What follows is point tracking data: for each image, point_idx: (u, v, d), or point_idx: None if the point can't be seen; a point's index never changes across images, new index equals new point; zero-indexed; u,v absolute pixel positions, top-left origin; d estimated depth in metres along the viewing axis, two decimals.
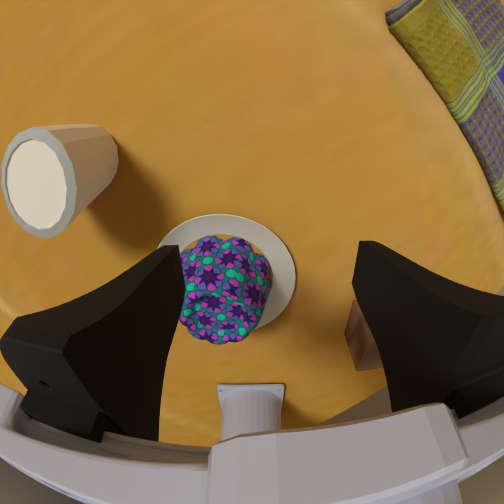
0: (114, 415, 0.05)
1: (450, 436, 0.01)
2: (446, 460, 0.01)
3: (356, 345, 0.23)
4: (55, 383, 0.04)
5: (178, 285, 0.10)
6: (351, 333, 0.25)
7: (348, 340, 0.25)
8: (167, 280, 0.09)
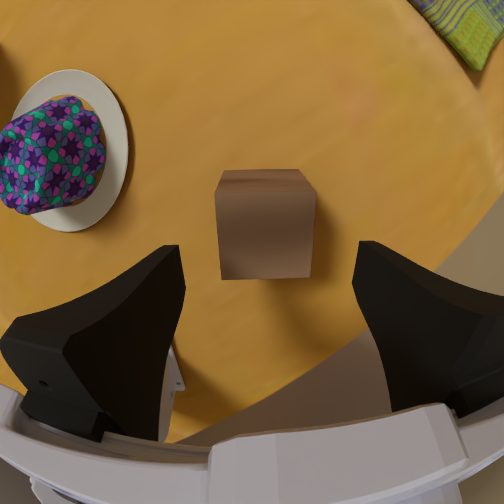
0: (114, 415, 0.05)
1: (450, 436, 0.01)
2: (446, 460, 0.01)
3: None
4: (55, 383, 0.04)
5: (178, 285, 0.10)
6: None
7: None
8: (167, 280, 0.09)
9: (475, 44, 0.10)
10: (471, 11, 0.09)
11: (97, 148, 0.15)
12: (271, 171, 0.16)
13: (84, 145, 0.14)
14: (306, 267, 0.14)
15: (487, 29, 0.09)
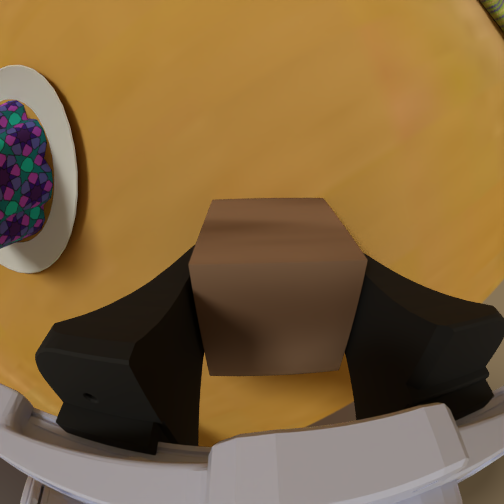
0: (168, 424, 0.05)
1: (450, 436, 0.01)
2: (446, 460, 0.01)
3: None
4: (106, 396, 0.04)
5: None
6: None
7: None
8: None
9: None
10: None
11: (40, 172, 0.10)
12: (284, 203, 0.11)
13: (22, 170, 0.09)
14: (336, 360, 0.09)
15: None
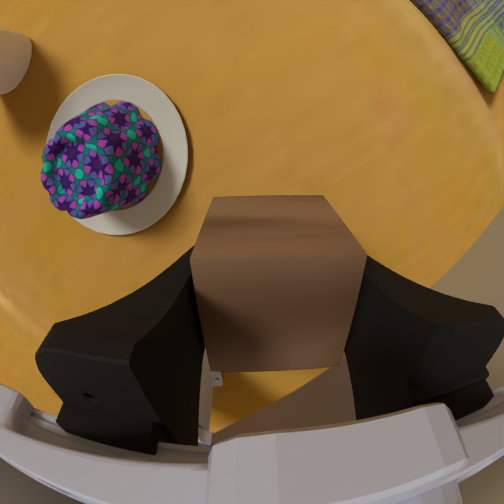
0: (168, 424, 0.05)
1: (450, 436, 0.01)
2: (446, 460, 0.01)
3: None
4: (106, 396, 0.04)
5: None
6: None
7: None
8: None
9: (491, 68, 0.11)
10: (487, 36, 0.10)
11: (155, 159, 0.17)
12: (284, 200, 0.11)
13: (144, 155, 0.16)
14: (336, 355, 0.09)
15: (500, 52, 0.11)
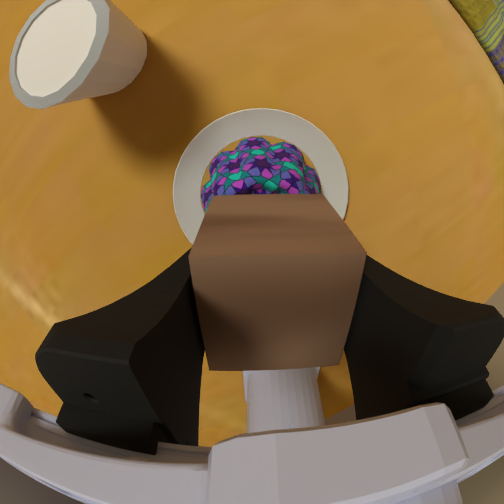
0: (168, 424, 0.05)
1: (450, 436, 0.01)
2: (446, 460, 0.01)
3: None
4: (107, 396, 0.04)
5: None
6: None
7: None
8: None
9: None
10: None
11: None
12: (283, 198, 0.11)
13: None
14: (335, 354, 0.09)
15: None
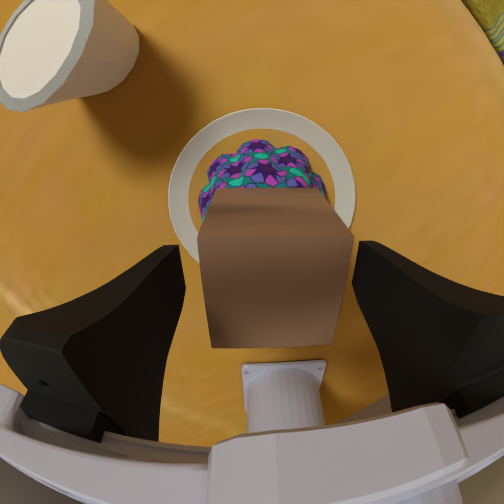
0: (114, 415, 0.05)
1: (450, 436, 0.01)
2: (446, 460, 0.01)
3: None
4: (55, 383, 0.04)
5: (178, 285, 0.10)
6: None
7: None
8: (167, 280, 0.09)
9: None
10: None
11: None
12: (281, 191, 0.12)
13: None
14: (328, 333, 0.10)
15: None
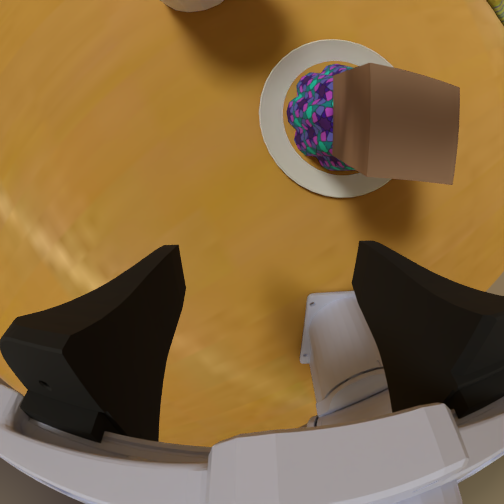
0: (114, 415, 0.05)
1: (450, 436, 0.01)
2: (446, 460, 0.01)
3: (354, 129, 0.10)
4: (55, 383, 0.04)
5: (178, 285, 0.10)
6: (342, 128, 0.12)
7: (340, 151, 0.13)
8: (167, 280, 0.09)
9: None
10: None
11: None
12: None
13: None
14: (451, 171, 0.09)
15: None
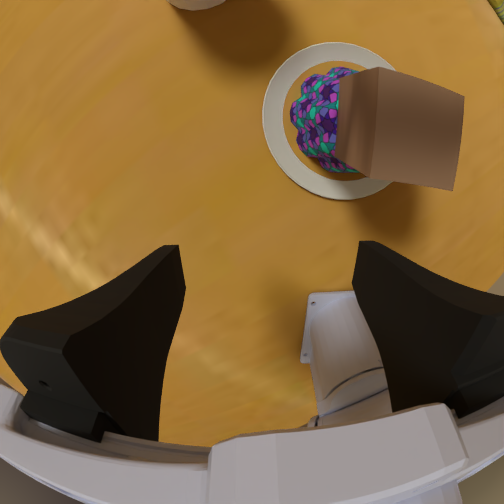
0: (114, 415, 0.05)
1: (450, 436, 0.01)
2: (446, 460, 0.01)
3: (358, 131, 0.11)
4: (55, 383, 0.04)
5: (178, 285, 0.10)
6: (346, 130, 0.12)
7: (342, 152, 0.13)
8: (167, 280, 0.09)
9: None
10: None
11: None
12: None
13: None
14: (451, 177, 0.10)
15: None
